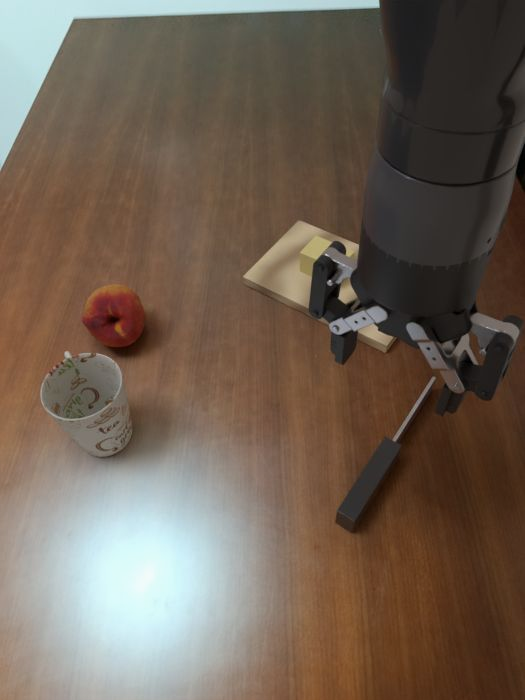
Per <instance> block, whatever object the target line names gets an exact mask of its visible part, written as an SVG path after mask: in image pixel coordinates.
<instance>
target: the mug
mask: <svg viewBox="0 0 525 700" xmlns="http://www.w3.org/2000/svg"><path fill="white" fill-rule="evenodd" d="M63 355H64V358H65V359H63V360H61V361H60V362H58V363H57V364H55V366H54V367H52V368H51V369H50V370H49V371H48V373H47V374H46V376H45V377H44V378H43V380H42V383H41V386H40V391H39V396H40V397H39V398H40V401H41V404H42V407H43V409H44V410H45V411H46V413H47V414H48V415H49V416H50V417H51V418H52V419H53V421H55V422H56V424H58V425H59V427H60V428H62V429H63V430H64V431H65V432H66V433H67V434H68V435H69V436H70V438H72V439H73V440H74V442H76V444H78V446H79V447H80V448H82V450H84V452H86V453H88V454H89V455H90V456H93V457H96V458H97V457H99V458H105V457H110V456H113V455H115V454H118V453H119V452H120V451H122V450H123V449H124V448H125V447H126V446H127V445H128V444H129V442H130V441H131V438H132V436H133V428H134V427H133V421H132V415H131V410H130V406H129V400H128V395H127V390H126V384H125V379H124V375H123V372H122V370H121V367H120V366H119V364H117V362H116V361H115V360H114V359H113V358H111V357H109V356H107V355H105V354H102V353H98V352H83V353H78V354H74V355H73V354H72V353H71V352H70V351H69V350H66V351H64V352H63Z"/></svg>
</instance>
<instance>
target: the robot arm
mask: <svg viewBox="0 0 525 700" xmlns="http://www.w3.org/2000/svg"><path fill="white" fill-rule="evenodd" d="M378 4H379V5H378V6H379V17H380V24H381V32H382V36H383V42H384V48H385V55H386V62H385V66H384V72H383V78H382V83H381V84H382V85H381V91H380V101H379V109H378V117H377V126H376V135H375V142H374V147H373V151H372V154H371V158H370V161H369V166H368V170H367V175H366V180H365V187H364V197H363V208H362V214H361V215H362V216H361V222H360V223H361V224H360V234H359V242H358V245H359V250H358V259H357V260H355V259H352V258H350V257H348V256H346V247H345V246H344V244H343V243H341V242H339V241H333V242H332V243H331V244H330V246H329V247H328V248H327V249H326V250H325V251H324V252H323V253H322V254H321V255H320V257H319V258H318V259H317V260H316V261H315V262H314V263H313V271H312V281H311V290H310V300H309V313H310V315H311V316H312V317H314V318H315V319H314V318H313V319H314V320H316V319H321V318H322V317H323V318H324V319H325V320H326V321H328V323H329V325H328V329H329V330H330V332H331V333H330V347H329V349H330V352H331V354H333V355H334V362H336V363H337V364H340V365H341V366H345V364H346V363H347V362H348V361H349V359H350V358H351V356H352V355H353V353H354V352H355V350H356V348H357V342H358V340H357V335H358V330H360V329H362V328H364V327H367V326H369V325H371V324H375V325H376V326H377V327H378V331H380V332H382V333H384V334H386V335H389V336H393V337H396V339H398V340H400V341H402V342H403V343H404V344H406V345H407V346H410V347H412V348H414V349H416V350H419V349H420V350H421V352H422V354H423V355H424V358H425V359H426V361H427V363H428V365H429V366H430V368H431V370H432V371H438V372H439V373H440V375H441V377H442V379H443V380H444V382H445V383H444V384H443V385H442V388H441V391H440V394H439V396H438V399H437V402H436V405H435V407H434V411H433V412H434V413H435V414H436V415H439V416H441V417H444V416H445V414H446V412H447V413H449V414H451V415H453V414H455V413H457V412H458V410H459V408H460V406H461V404H462V402H463V401H464V399H465V397H466V394H467V393H468V392H474V395H475V396H476V397H477V398H478V399H480V400H482V401H485V402H490V401H492V400H493V398H494V397H495V395H496V392H497V389H498V388H499V386H500V384H501V383H502V380H504V378H505V376H506V375H507V374H508V373H507V372H508V370H509V367H510V365H511V362H512V359H513V356H514V354H515V351H516V348H517V345H518V343H519V341H520V338H521V335H522V332H523V329H524V327H525V323H524V321H523V319H522V318H521V317H520V316H517V315H515V314H508V315H505V317H504V318H503V320H499V319H496V318H494V317H492V316H489V315H486V314H484V313H480V310H479V306H478V304H477V295H478V292H479V290H480V287H481V285H482V282H483V279H484V275H485V273H486V270H487V267H488V265H489V262H490V258H491V257H492V253H493V251H494V248H495V244H496V242H497V239H498V236H499V233H500V232H501V230H503V228H504V226H505V224H506V223H505V222H506V219H507V215H508V208H509V205H510V202H511V198H512V194H513V190H514V186H515V180H516V173H517V168H518V164H519V160H520V156H521V154H522V151H523V148H524V145H525V0H378ZM345 278H350V283H351V286H352V288H353V290H354V292H355V293H356V295H357V298H355V299H353V300H351V301H349V302H347V303H346V304H345V303H343V302H342V301H341V300H339V299H338V298H339V293H340V287H341V283H342V281H343V280H344V279H345ZM312 317H311V318H312ZM469 333H472V334H473V335H474V336H475V337H476V339H477V345H478V347H479V348H480V349H479V350H478V353H479V354H480V355H481V356H484V359H483V362H482V365H480V364H479V362H478V361H477V359H476V356H475V355H474V353H473V350H472V348H471V347H470V335H469ZM441 344H442V345H441Z"/></svg>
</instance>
